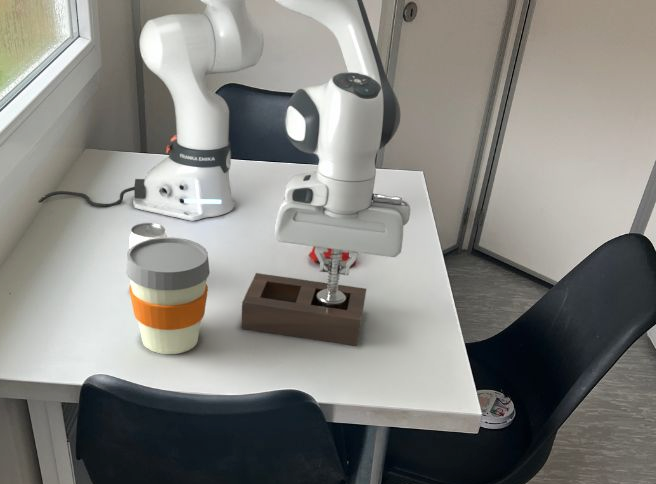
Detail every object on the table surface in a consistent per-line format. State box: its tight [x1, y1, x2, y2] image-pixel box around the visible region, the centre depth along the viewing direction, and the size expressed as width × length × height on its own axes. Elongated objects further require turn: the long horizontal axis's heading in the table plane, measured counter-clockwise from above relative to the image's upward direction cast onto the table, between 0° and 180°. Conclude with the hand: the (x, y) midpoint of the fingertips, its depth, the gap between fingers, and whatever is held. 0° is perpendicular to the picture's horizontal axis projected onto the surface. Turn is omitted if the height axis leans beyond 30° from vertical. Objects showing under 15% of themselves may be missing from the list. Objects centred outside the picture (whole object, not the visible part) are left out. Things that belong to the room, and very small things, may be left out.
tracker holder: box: [308, 246, 358, 267], centre depth 145 cm, size 12×4×10 cm
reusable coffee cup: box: [125, 236, 210, 355], centre depth 113 cm, size 13×13×15 cm
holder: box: [240, 272, 367, 347], centre depth 124 cm, size 11×20×5 cm, turn 79°
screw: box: [317, 249, 346, 309], centre depth 119 cm, size 13×5×5 cm
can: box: [129, 222, 168, 249], centre depth 127 cm, size 6×6×12 cm
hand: (334, 272), depth 119 cm, fingers closed on screw, 2 cm apart
